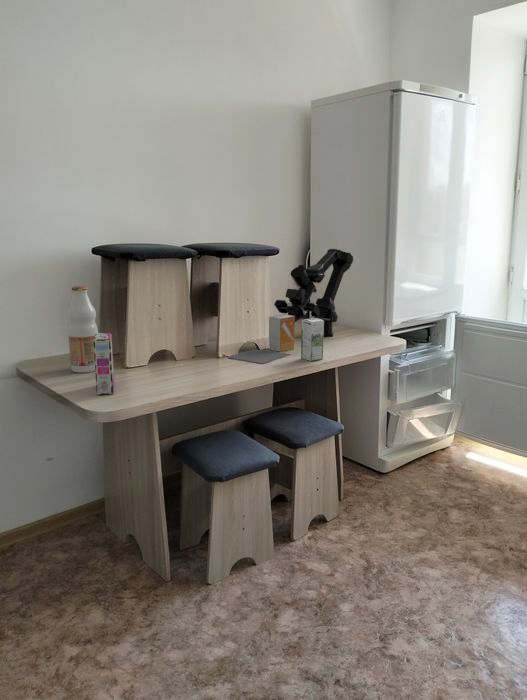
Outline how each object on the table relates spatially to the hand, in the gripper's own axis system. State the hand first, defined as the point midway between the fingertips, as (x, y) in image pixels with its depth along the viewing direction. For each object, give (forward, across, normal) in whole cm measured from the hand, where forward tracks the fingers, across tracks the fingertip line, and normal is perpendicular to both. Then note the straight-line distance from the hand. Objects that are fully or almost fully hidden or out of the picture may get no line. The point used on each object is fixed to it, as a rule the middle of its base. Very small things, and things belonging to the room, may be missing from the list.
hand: (288, 325), depth 222 cm
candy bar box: (+62, -12, -49) cm, 80 cm away
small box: (+10, 0, +3) cm, 10 cm away
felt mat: (+20, 0, -7) cm, 21 cm away
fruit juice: (+54, -37, -41) cm, 78 cm away
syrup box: (+14, +18, -2) cm, 23 cm away
